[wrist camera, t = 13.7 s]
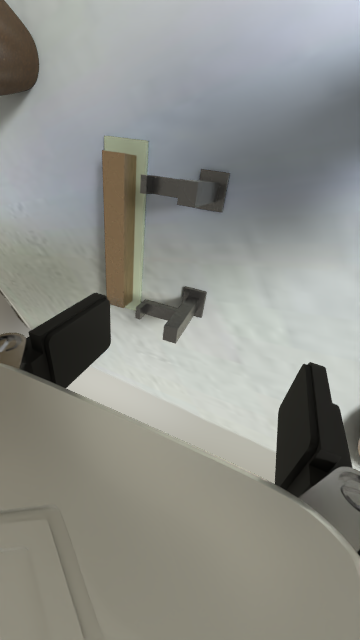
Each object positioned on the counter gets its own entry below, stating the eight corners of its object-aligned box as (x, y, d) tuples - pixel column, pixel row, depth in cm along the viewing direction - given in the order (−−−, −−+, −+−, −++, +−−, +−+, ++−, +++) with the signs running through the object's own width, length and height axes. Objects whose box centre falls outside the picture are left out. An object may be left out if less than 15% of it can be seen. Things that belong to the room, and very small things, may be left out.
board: (106, 136, 37) (104, 135, 37) (148, 141, 36) (146, 140, 35) (110, 301, 52) (108, 302, 51) (140, 310, 50) (139, 311, 50)
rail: (115, 152, 38) (102, 150, 35) (136, 155, 37) (124, 153, 34) (116, 296, 50) (106, 303, 47) (132, 300, 49) (123, 308, 46)
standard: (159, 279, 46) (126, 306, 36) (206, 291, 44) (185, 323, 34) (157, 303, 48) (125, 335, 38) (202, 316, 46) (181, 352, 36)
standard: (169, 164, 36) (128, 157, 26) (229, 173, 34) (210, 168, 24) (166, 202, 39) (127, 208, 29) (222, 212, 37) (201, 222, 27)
